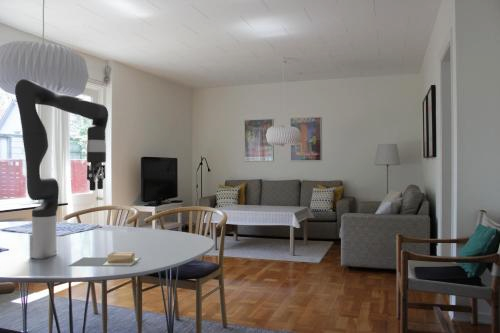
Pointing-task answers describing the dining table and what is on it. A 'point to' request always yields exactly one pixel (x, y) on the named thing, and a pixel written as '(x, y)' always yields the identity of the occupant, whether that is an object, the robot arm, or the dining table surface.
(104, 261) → the mat
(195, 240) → the dining table surface
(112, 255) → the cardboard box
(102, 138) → the robot arm
